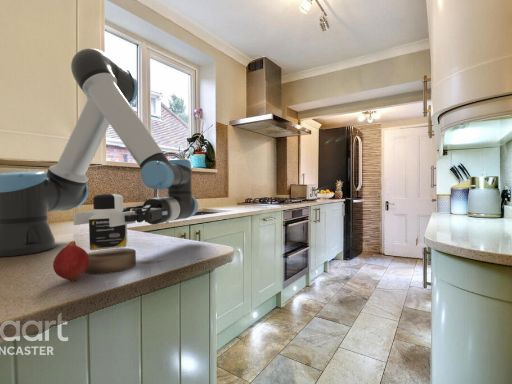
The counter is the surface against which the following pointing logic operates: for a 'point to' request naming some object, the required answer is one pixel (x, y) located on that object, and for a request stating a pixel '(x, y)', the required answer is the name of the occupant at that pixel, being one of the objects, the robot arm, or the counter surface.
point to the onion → (71, 262)
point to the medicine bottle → (106, 223)
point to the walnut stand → (111, 260)
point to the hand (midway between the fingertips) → (92, 219)
